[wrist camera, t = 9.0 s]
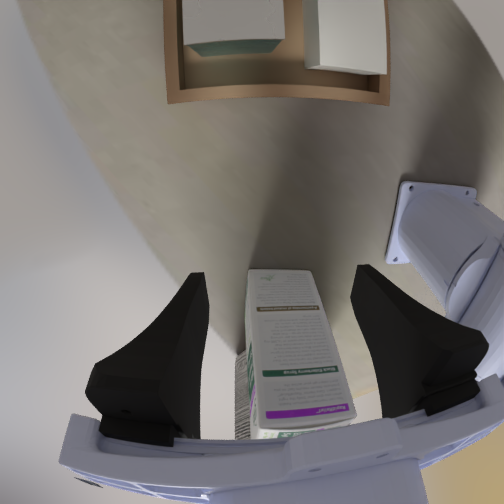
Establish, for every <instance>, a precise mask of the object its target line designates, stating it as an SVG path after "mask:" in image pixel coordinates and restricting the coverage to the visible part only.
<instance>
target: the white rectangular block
mask: <svg viewBox="0 0 504 504" xmlns="http://www.w3.org/2000/svg"><path fill="white" fill-rule="evenodd" d="M302 8H303V31H304V69H310V70H323V71H333V72H342V73H350V74H358V75H375V74H387V46H386V23H385V9H384V0H302Z"/></svg>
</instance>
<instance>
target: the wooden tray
mask: <svg viewBox="0 0 504 504" xmlns="http://www.w3.org/2000/svg"><path fill="white" fill-rule="evenodd" d="M283 8H284V26H285V40H282V41H281V42H280V43H279V44H278V45H277V47H276V48H275V49H274V50H273V51H272V53H258V54H234V55H220V56H209V57H202V56H200V55H199V54H198V53H196V52H195V51H194V50H193V49H191V48H190V47H189V46H185V45H184V36H183V8H182V0H163V17H164V52H165V72H166V88H167V101H168V104H174V103H182V102H191V101H200V100H212V99H225V98H245V97H300V98H320V99H334V100H345V101H355V102H363V103H371V104H378V105H385V106H389V103H390V30H389V14H388V2H387V0H384V9H385V23H386V46H387V74H375V75H358V74H350V73H342V72H333V71H323V70H310V69H304V31H303V8H302V0H283Z"/></svg>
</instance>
